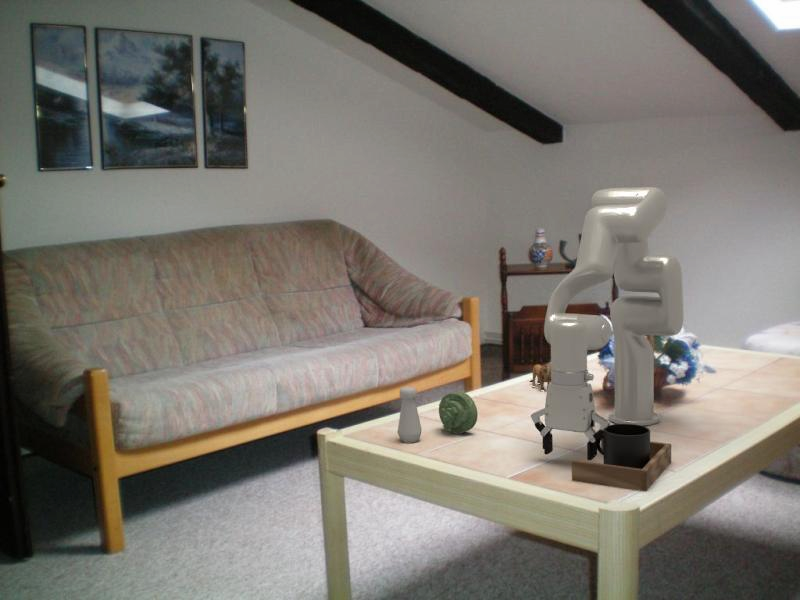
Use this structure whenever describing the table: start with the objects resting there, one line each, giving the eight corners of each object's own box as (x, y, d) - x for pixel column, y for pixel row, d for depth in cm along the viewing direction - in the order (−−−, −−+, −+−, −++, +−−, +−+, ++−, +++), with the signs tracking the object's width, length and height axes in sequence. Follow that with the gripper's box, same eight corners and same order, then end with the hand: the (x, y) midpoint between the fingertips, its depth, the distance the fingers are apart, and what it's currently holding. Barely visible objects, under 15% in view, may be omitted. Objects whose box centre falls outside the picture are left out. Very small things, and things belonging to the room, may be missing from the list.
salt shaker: (394, 439, 210) (392, 386, 209) (415, 435, 212) (414, 383, 211) (404, 445, 205) (402, 391, 203) (426, 441, 207) (424, 388, 205)
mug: (608, 459, 189) (608, 418, 188) (658, 470, 180) (658, 428, 179) (584, 470, 182) (583, 428, 181) (635, 482, 174) (635, 438, 173)
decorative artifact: (478, 434, 212) (477, 394, 211) (461, 440, 207) (459, 400, 206) (445, 427, 219) (444, 389, 217) (428, 434, 213) (427, 394, 212)
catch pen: (602, 453, 193) (602, 435, 193) (671, 461, 186) (671, 443, 185) (571, 480, 176) (571, 461, 176) (645, 491, 169) (645, 471, 168)
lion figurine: (563, 392, 251) (562, 362, 250) (547, 394, 249) (546, 364, 248) (537, 382, 265) (536, 353, 264) (521, 384, 263) (521, 355, 262)
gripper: (614, 377, 183) (614, 456, 185) (537, 371, 192) (538, 446, 194) (603, 384, 177) (603, 466, 179) (524, 377, 186) (525, 455, 188)
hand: (569, 455), depth 186 cm, fingers open, 9 cm apart
